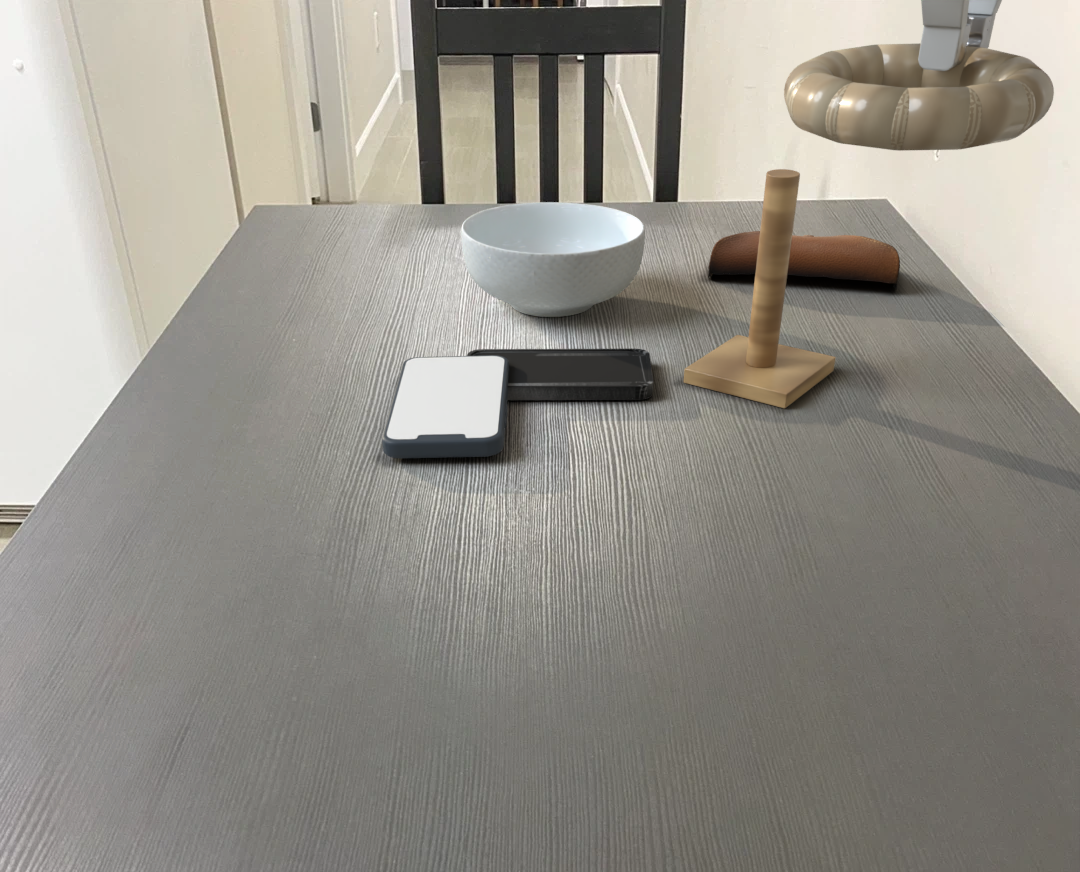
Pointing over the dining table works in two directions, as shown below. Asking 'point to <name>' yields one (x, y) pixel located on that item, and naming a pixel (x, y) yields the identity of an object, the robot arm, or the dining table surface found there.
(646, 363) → the phone
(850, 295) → the dining table surface
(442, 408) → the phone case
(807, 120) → the ring
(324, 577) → the dining table surface
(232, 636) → the dining table surface
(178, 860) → the dining table surface
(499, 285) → the cereal bowl
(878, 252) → the sunglasses case
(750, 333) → the peg stand
